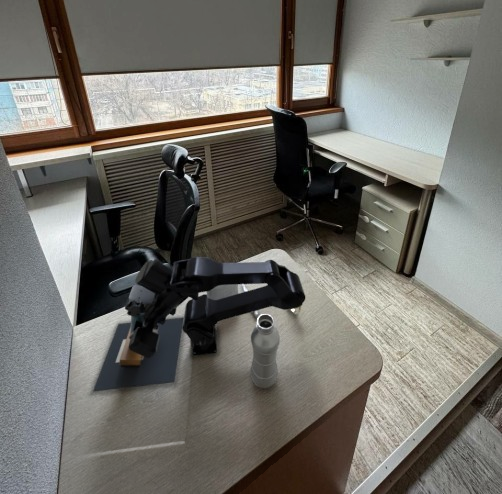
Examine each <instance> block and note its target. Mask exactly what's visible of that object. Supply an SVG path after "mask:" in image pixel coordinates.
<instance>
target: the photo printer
mask: <svg viewBox="0 0 502 494" xmlns="http://www.w3.org/2000/svg"><path fill="white" fill-rule="evenodd" d="M206 294H207V297H208V298H210V299H213V300H218V299H222V298H225V297H229V296H232V295H236V294H239V284H235V285H219V286H217V287H215V288H213V289H212V290H210V291H207V292H206Z"/></svg>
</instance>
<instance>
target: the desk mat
mask: <svg viewBox="0 0 502 494" xmlns="http://www.w3.org/2000/svg"><path fill="white" fill-rule="evenodd" d="M183 320H184V317H175V318H166V320H165V323H164V324H163V325H161V324H159V323H157V325H158V327H159V329H158V334H159V337H160V339H159V344H158V348H157V353H156V354H155V355H153V356H152V357H151V358H146V357H144V356H143V357H142V361H141V364H140V367H121V365H120V357H121V354H122V351H123V348H124V345H125V342H126V339H127V336H128V333H129V330H130V327H131V322H124V323H123V322H122V323H118V324H117V326H116V330H115V333H114V334H113V337H112V340H111V343H110V345H109V348H108V350H107V353H106V356H105V358H104V361H103V363H102V366H101V369H100V371H99V374H98V376H97V379H96V382H95V385H94V387H93V390H92V392H99V391H108V390H118V389H126V388H133V387H142V386H143V387H144V386H151V385H152V386H153V385H160V384H161V385H162V384H168V383H175V381H176V374H177V366H178V360H179V354H180V353H179V351H180V345H181V338H182V331H183V329H182V327H183Z"/></svg>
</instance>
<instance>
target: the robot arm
mask: <svg viewBox="0 0 502 494" xmlns="http://www.w3.org/2000/svg"><path fill="white" fill-rule="evenodd" d="M183 270H184V273H183V276H182V271H183ZM134 281H135V285H133V286H132V288H131V289H130V292H129V295H128V297H127V300H126V302H125V306H124V309H125V311H126V312H127V313H126V314H127V316H130V317H131V316H134V317H138V316H140V314H141V313H143V314H142V317H144V321H143V323H141V322H139V321H137V320H136V323H135V326H134V329H133V332H132V333H131V335H130V336H129V339H131V340H130V344H129V349H130V350H131V351H133V352H135V353H138V354H140V355H142V356H144V357H146V358H151V357H152V356H153V355H155V354H156V353H157V348H158V344H159V339H160V337H159V334H158V329H159V327H158V325H157V323H159V324H161V325H163V324H164V323H165V320H166V319H167V317H168V316H169V315H170V316H173V317H174V315H176V313H177V308H179V306H181V305H182V304H183V303H184V302H185V301H186V300H187V299H188V298H190V299H189V300H188V301H187V302H186V304H185V306H184V314H183V325H182V331H183V333H184V334H186V336H187V337H188V338H189V341H190V347H191V348H192V356H195V357H196V356H204V355H213V354H214V355H215V354H217V353H218V329H217V324H218V323H219V322H222V321H225V320H228V319H232V318H235V317H239V316H244V315H246V314H250V313H254V312H253V311H257V312H258V311H261V310H263V309H267V308H271V307H274V308H277V309H280V310H283V311H286V310H290V309H293V308H294V309H297V308H298V307H300V306H301V307H302V306H303V303H304V302H305V301H306V294H305V291H304V288H303V285H302V282H301V279H300V276H299V275H298V274H297V273H295V272H293V271H292V270H290V269H288V267H286V266H285V265H282V264H278V263H277V262H276V261H275V260H273V259H267V260H265V261H255V262H253V261H249V262H248V261H247V262H218V261H216V260H214V259H213V258H210V257H202V256H193V257H191V258H187V259H183V260H177V261H174V262H173V264H172V267H169V266H167V265H166V264H164V263H162V261H160V260H158V259H157V258H154V259H153V260H152V259H150V260H147V261H146V262H145V263H144V264H143V265H142V267H141V268H140V269H139V271H138V273H137V275H136V277H135V280H134ZM235 284H238V285H242V284H244V285H260V284H261V285H262V284H263V285H264V284H266V285H264V286H261V287H257V288H253V289H250V290H248V291H246V292H244V291H242V292H240V293H239V292H238V294H236V295H232V296H229V297H225V298H222V299H218V300H213V299H210V298H208V297H207V291H210V290H212V289H213V288H215V287H217V286H219V285H235ZM205 292H206V293H205ZM200 293H205V294H201V295H199V294H200Z"/></svg>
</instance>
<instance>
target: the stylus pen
mask: <svg viewBox="0 0 502 494" xmlns="http://www.w3.org/2000/svg"><path fill="white" fill-rule="evenodd" d="M241 287H242V290H243V292H246V291H249V290H248V288H247V286H246V284H241ZM252 313H253V315H254V316H255V318H258V317H259V316H260V315H259V311H258V310H257V311H253V312H252Z"/></svg>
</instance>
